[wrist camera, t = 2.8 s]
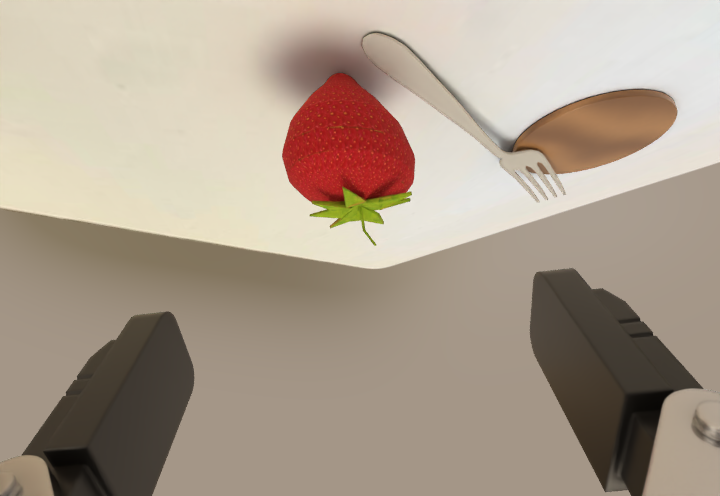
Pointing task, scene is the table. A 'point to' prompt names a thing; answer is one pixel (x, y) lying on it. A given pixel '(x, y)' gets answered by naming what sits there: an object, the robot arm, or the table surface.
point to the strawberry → (348, 153)
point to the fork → (451, 107)
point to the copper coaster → (599, 129)
